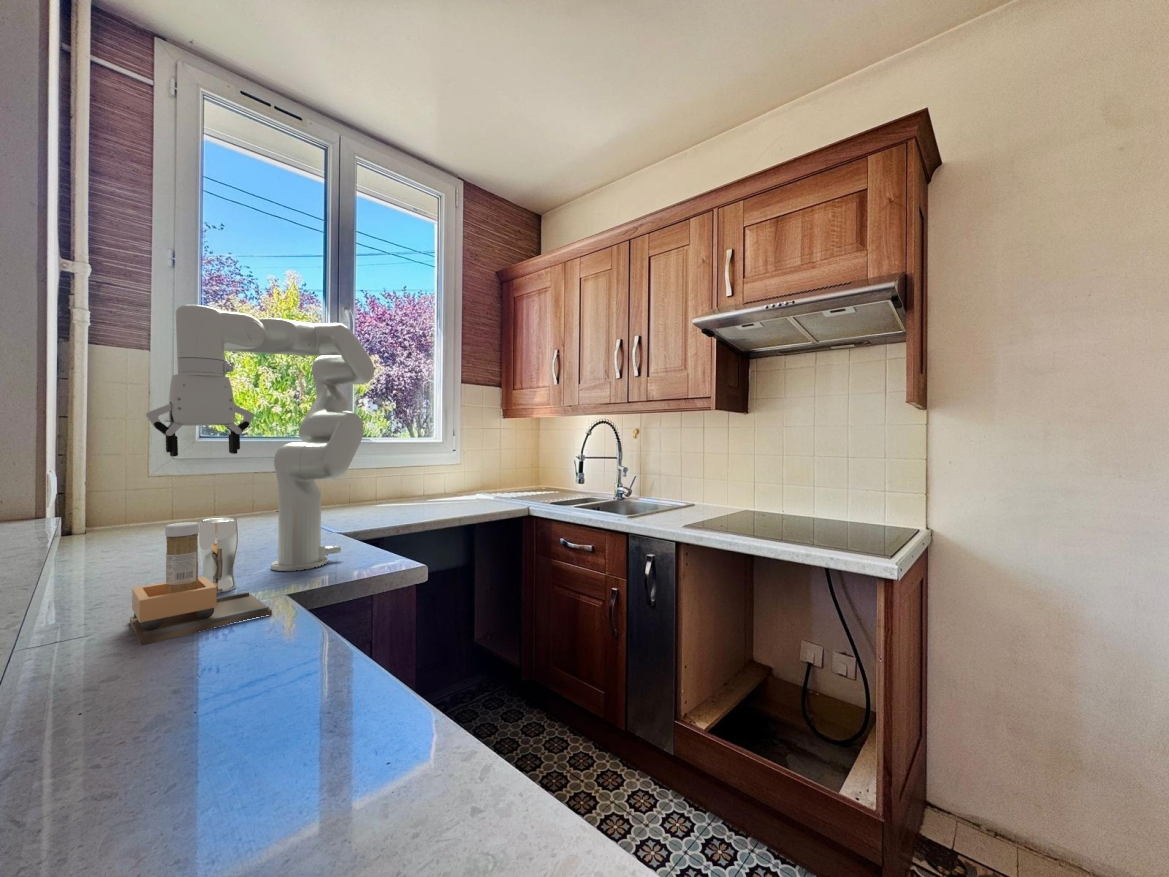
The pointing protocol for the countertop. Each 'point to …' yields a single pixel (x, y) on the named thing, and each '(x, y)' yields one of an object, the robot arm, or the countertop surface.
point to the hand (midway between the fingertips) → (204, 454)
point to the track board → (188, 623)
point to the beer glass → (219, 551)
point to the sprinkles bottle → (182, 557)
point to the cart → (172, 602)
